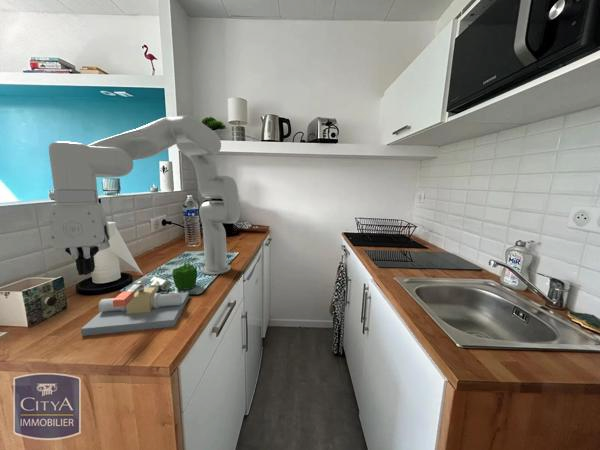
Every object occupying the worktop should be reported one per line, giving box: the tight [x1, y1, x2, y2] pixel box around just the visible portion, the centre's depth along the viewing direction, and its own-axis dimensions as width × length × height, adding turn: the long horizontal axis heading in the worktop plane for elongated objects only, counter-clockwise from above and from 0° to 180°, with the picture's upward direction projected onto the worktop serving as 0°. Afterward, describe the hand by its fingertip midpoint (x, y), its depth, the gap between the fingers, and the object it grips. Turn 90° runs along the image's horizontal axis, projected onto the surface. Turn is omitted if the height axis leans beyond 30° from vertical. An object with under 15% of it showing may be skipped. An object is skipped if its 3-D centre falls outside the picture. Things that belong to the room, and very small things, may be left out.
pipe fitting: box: [148, 276, 172, 293], centre depth 92 cm, size 8×4×7 cm
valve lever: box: [113, 278, 148, 307], centre depth 68 cm, size 14×3×3 cm, turn 12°
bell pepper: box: [172, 262, 198, 291], centre depth 93 cm, size 8×8×10 cm
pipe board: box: [80, 287, 190, 337], centre depth 74 cm, size 18×22×7 cm
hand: (86, 273), depth 60 cm, fingers closed
